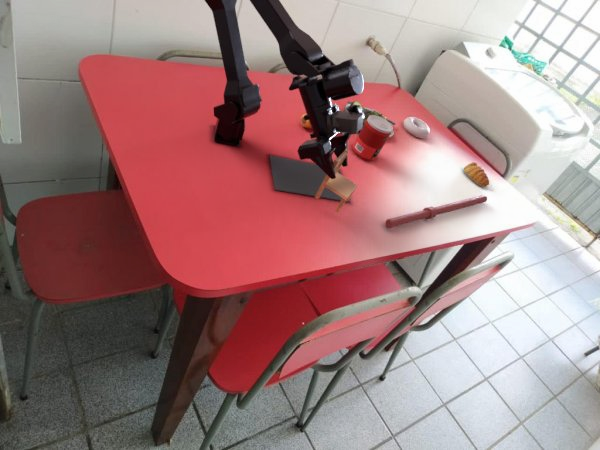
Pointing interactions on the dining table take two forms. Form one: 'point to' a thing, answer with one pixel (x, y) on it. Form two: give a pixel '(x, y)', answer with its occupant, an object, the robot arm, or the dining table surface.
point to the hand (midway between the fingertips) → (339, 172)
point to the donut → (416, 127)
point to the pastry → (476, 174)
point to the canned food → (372, 137)
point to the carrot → (305, 122)
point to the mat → (299, 178)
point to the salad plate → (368, 113)
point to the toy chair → (338, 183)
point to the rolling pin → (433, 211)
